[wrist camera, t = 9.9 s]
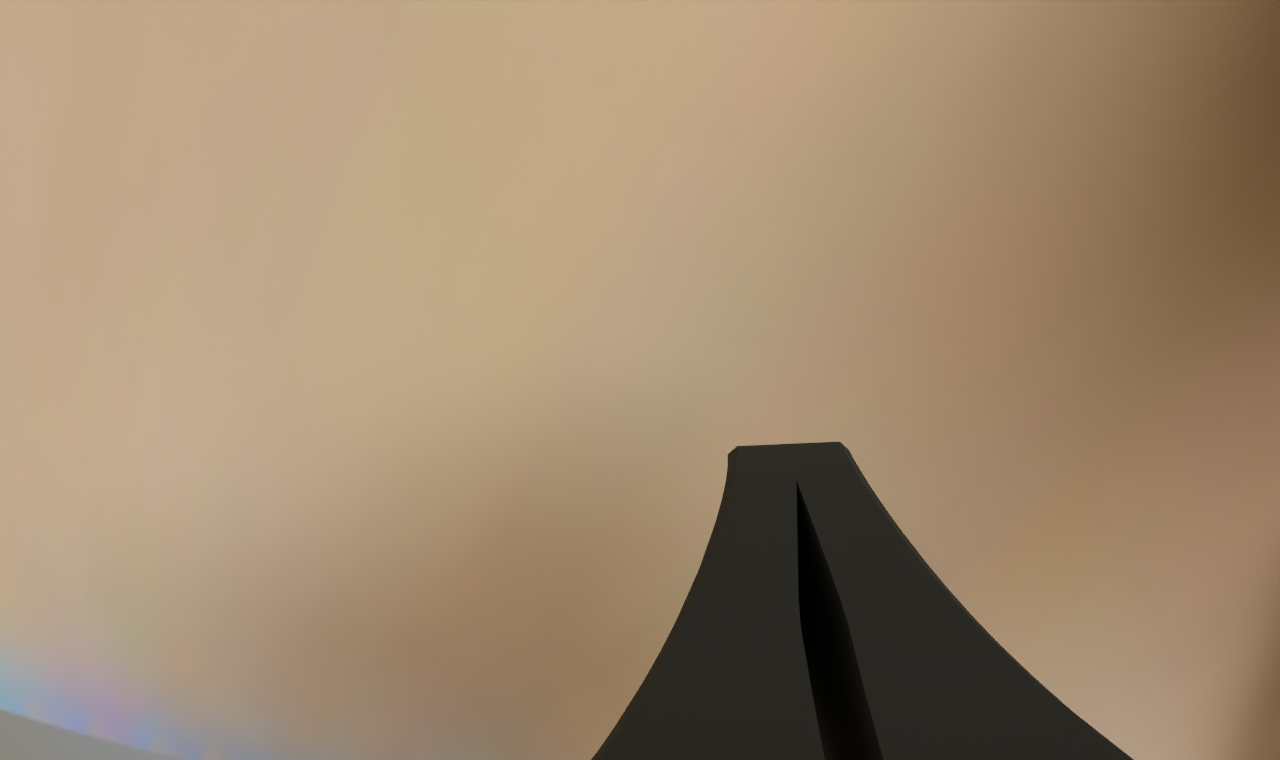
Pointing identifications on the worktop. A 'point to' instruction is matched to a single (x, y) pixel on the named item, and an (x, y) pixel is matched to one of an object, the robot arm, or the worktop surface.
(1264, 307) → the worktop surface
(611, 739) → the robot arm
